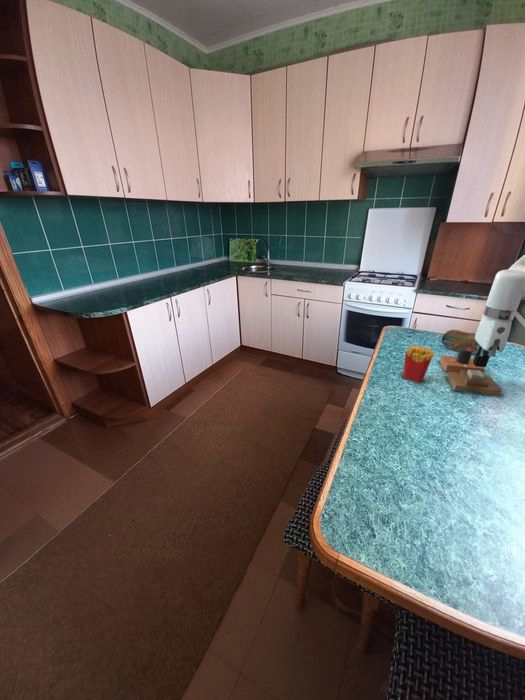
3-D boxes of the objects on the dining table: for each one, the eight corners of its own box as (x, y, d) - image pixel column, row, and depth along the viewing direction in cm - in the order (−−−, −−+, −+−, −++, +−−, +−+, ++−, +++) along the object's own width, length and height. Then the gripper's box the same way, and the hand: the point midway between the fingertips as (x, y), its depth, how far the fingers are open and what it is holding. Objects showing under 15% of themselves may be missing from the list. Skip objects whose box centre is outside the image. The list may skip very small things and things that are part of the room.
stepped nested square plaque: (487, 381, 101) (491, 371, 100) (499, 396, 94) (503, 385, 92) (446, 376, 105) (449, 367, 103) (454, 390, 97) (457, 380, 95)
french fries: (399, 376, 105) (406, 347, 100) (402, 372, 108) (409, 343, 102) (425, 384, 101) (434, 353, 95) (427, 378, 103) (436, 349, 98)
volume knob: (453, 359, 109) (457, 346, 107) (462, 358, 110) (466, 345, 108) (462, 364, 106) (466, 351, 103) (471, 363, 107) (476, 350, 104)
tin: (439, 347, 126) (444, 329, 122) (440, 344, 128) (445, 326, 124) (481, 356, 118) (488, 337, 114) (481, 353, 120) (488, 334, 116)
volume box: (473, 365, 112) (476, 357, 110) (482, 376, 104) (485, 368, 103) (439, 361, 114) (441, 354, 113) (445, 372, 107) (447, 364, 106)
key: (478, 375, 99) (480, 370, 98) (482, 380, 96) (484, 376, 95) (466, 373, 99) (468, 369, 99) (470, 379, 96) (472, 374, 96)
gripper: (526, 322, 80) (502, 379, 88) (501, 305, 93) (482, 356, 101) (495, 320, 81) (474, 376, 90) (475, 304, 94) (458, 353, 103)
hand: (479, 365), depth 95 cm, fingers closed
